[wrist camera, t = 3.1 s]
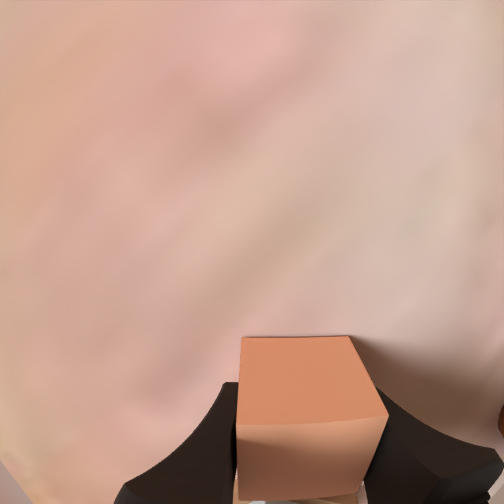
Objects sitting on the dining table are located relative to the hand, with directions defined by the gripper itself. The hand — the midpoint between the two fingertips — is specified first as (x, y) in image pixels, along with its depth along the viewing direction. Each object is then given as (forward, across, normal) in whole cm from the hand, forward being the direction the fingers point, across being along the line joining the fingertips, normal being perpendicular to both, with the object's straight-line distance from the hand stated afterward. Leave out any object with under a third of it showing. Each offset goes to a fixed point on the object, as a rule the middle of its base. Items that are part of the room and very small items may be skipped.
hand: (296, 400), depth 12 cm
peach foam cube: (+1, 0, 0) cm, 1 cm away
